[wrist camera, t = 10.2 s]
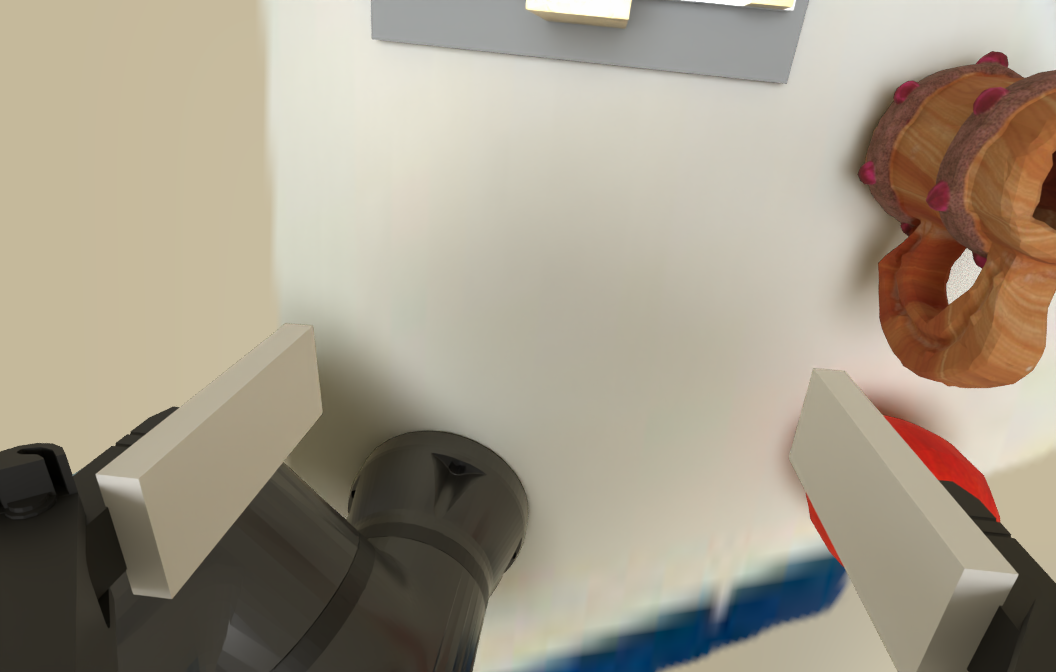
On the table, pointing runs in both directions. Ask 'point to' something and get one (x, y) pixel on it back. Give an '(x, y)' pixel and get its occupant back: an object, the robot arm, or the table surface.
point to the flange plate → (608, 34)
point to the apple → (938, 460)
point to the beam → (751, 4)
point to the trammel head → (583, 11)
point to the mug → (968, 220)
